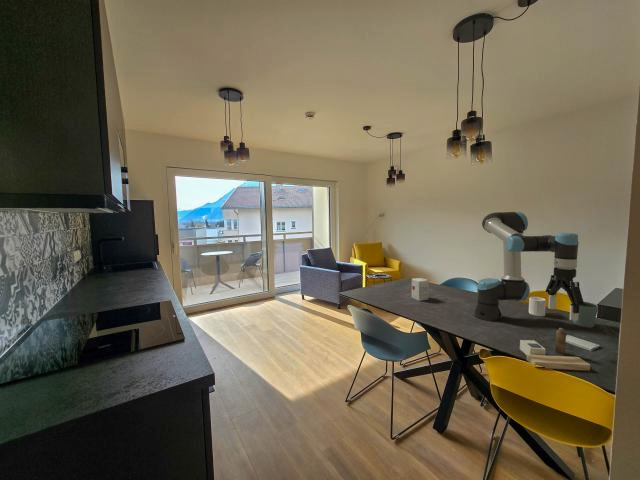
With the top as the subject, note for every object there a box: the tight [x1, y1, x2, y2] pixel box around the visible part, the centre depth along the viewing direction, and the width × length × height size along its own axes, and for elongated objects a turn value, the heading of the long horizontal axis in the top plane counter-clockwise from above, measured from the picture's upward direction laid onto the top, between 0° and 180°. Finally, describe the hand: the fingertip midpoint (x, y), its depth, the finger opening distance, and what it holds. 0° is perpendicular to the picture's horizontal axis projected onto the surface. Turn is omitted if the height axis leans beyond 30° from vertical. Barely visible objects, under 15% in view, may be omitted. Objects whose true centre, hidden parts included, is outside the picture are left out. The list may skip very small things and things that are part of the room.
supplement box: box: [411, 277, 430, 302], centre depth 206 cm, size 9×9×15 cm
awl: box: [554, 327, 567, 356], centre depth 124 cm, size 3×3×12 cm
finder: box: [519, 339, 546, 356], centre depth 123 cm, size 8×6×5 cm
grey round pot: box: [572, 301, 599, 328], centre depth 152 cm, size 10×10×12 cm
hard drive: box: [566, 334, 601, 352], centre depth 132 cm, size 2×8×12 cm
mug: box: [528, 296, 547, 317], centre depth 170 cm, size 8×12×10 cm, turn 114°
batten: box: [526, 354, 591, 372], centre depth 115 cm, size 6×20×2 cm, turn 81°
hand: (562, 314), depth 122 cm, fingers open, 13 cm apart
